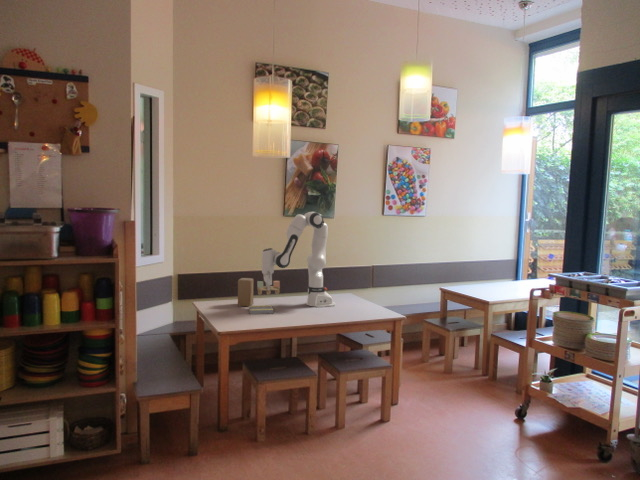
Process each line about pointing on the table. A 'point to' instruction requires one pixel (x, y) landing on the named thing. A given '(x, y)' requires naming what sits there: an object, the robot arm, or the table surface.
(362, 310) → the table surface
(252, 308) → the dock
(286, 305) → the table surface
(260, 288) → the pallet
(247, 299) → the wooden block
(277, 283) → the cargo
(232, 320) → the table surface
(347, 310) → the table surface
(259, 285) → the cargo
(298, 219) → the robot arm
